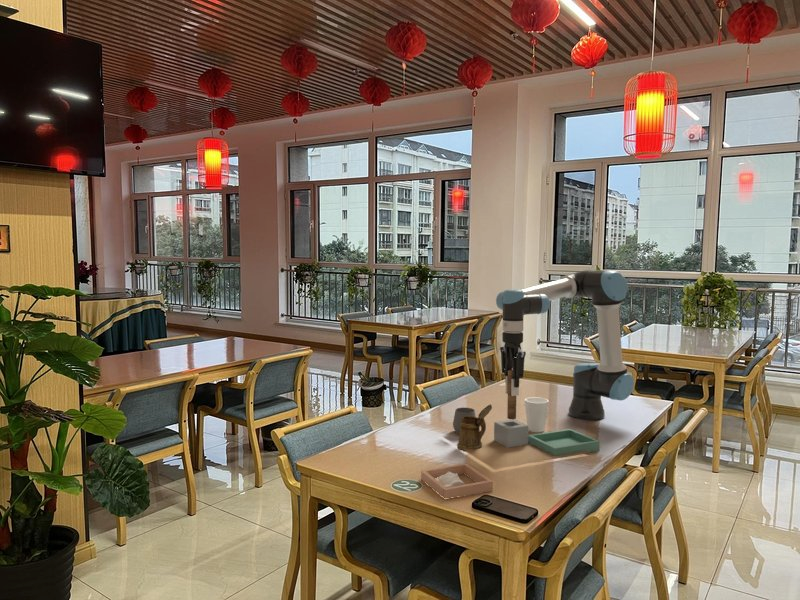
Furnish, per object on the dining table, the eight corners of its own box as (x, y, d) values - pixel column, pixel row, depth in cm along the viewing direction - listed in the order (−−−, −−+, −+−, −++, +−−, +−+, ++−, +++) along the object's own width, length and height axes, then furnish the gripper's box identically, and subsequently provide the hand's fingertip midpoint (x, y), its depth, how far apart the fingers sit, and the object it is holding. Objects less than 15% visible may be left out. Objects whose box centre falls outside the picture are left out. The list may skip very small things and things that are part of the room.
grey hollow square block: (514, 439, 223) (514, 419, 222) (528, 446, 214) (528, 425, 214) (494, 442, 219) (494, 421, 219) (507, 450, 211) (507, 428, 210)
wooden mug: (483, 457, 204) (483, 406, 202) (452, 448, 213) (452, 400, 212) (497, 450, 211) (497, 402, 209) (466, 442, 220) (467, 395, 218)
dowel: (512, 416, 218) (513, 369, 217) (517, 418, 215) (518, 371, 214) (505, 417, 217) (506, 370, 215) (510, 419, 214) (511, 371, 212)
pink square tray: (465, 471, 190) (465, 463, 190) (492, 490, 175) (493, 481, 175) (420, 479, 184) (420, 470, 183) (444, 500, 169) (444, 490, 168)
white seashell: (461, 480, 173) (429, 476, 175) (461, 494, 173) (429, 490, 176) (467, 468, 182) (437, 465, 185) (467, 482, 182) (437, 478, 185)
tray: (570, 437, 225) (570, 428, 225) (599, 450, 211) (599, 441, 210) (527, 444, 217) (527, 435, 217) (554, 458, 203) (554, 448, 202)
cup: (452, 431, 233) (452, 406, 232) (475, 431, 233) (475, 406, 232) (453, 438, 224) (453, 413, 223) (477, 438, 224) (478, 413, 223)
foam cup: (548, 436, 227) (549, 403, 225) (524, 434, 228) (524, 402, 227) (547, 429, 236) (548, 397, 235) (524, 427, 238) (524, 396, 237)
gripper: (492, 329, 219) (491, 390, 221) (516, 335, 204) (516, 400, 206) (508, 328, 222) (508, 388, 224) (534, 334, 207) (533, 398, 209)
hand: (512, 394), depth 215 cm, fingers closed on dowel, 3 cm apart
